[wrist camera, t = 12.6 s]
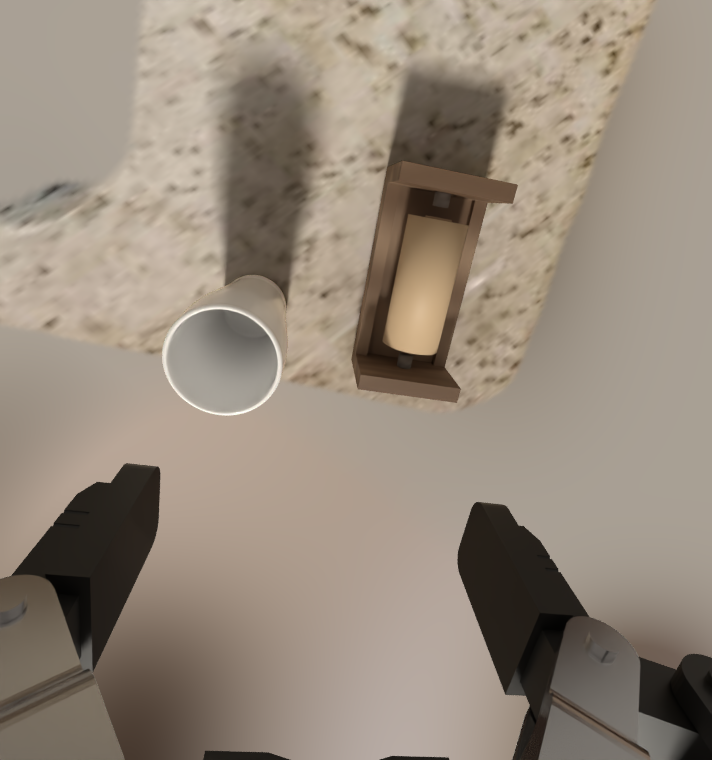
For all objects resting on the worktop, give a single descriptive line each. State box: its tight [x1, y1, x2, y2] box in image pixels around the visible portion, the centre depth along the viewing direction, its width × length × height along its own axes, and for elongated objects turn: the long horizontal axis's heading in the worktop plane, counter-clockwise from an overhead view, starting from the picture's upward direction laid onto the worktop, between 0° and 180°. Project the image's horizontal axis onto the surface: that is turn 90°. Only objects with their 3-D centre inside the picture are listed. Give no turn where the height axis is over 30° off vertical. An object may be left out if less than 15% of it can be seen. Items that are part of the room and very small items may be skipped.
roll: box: [383, 214, 468, 355], centre depth 37 cm, size 10×5×5 cm, turn 170°
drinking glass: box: [162, 275, 288, 415], centre depth 33 cm, size 7×7×15 cm
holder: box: [352, 161, 518, 403], centre depth 37 cm, size 16×8×7 cm, turn 170°
